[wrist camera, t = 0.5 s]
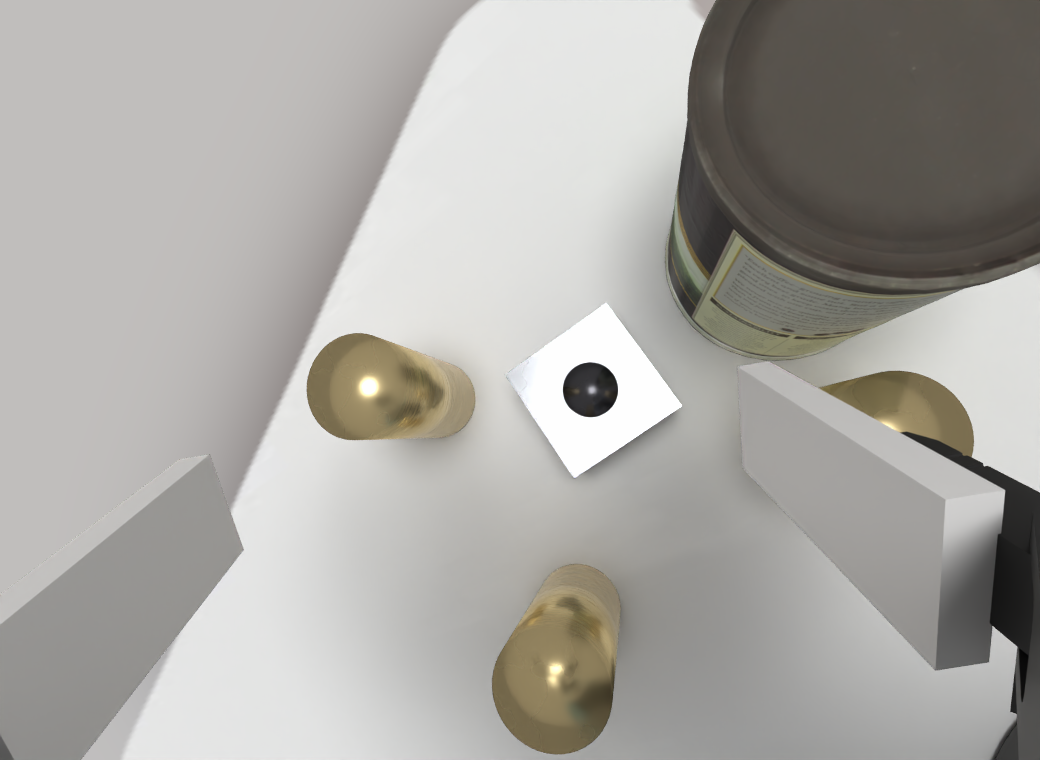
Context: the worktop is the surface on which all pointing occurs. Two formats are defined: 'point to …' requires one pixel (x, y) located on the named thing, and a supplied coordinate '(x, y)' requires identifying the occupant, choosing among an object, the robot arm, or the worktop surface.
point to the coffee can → (852, 165)
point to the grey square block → (592, 390)
